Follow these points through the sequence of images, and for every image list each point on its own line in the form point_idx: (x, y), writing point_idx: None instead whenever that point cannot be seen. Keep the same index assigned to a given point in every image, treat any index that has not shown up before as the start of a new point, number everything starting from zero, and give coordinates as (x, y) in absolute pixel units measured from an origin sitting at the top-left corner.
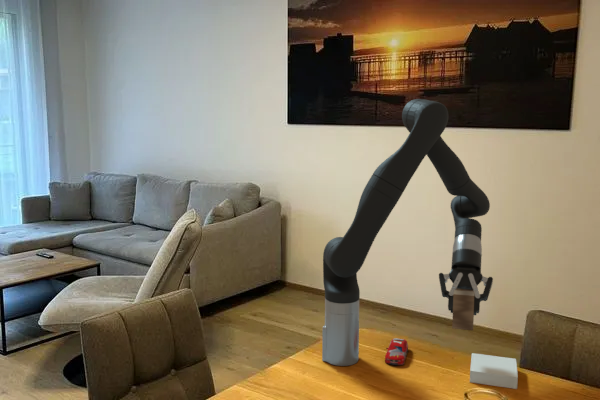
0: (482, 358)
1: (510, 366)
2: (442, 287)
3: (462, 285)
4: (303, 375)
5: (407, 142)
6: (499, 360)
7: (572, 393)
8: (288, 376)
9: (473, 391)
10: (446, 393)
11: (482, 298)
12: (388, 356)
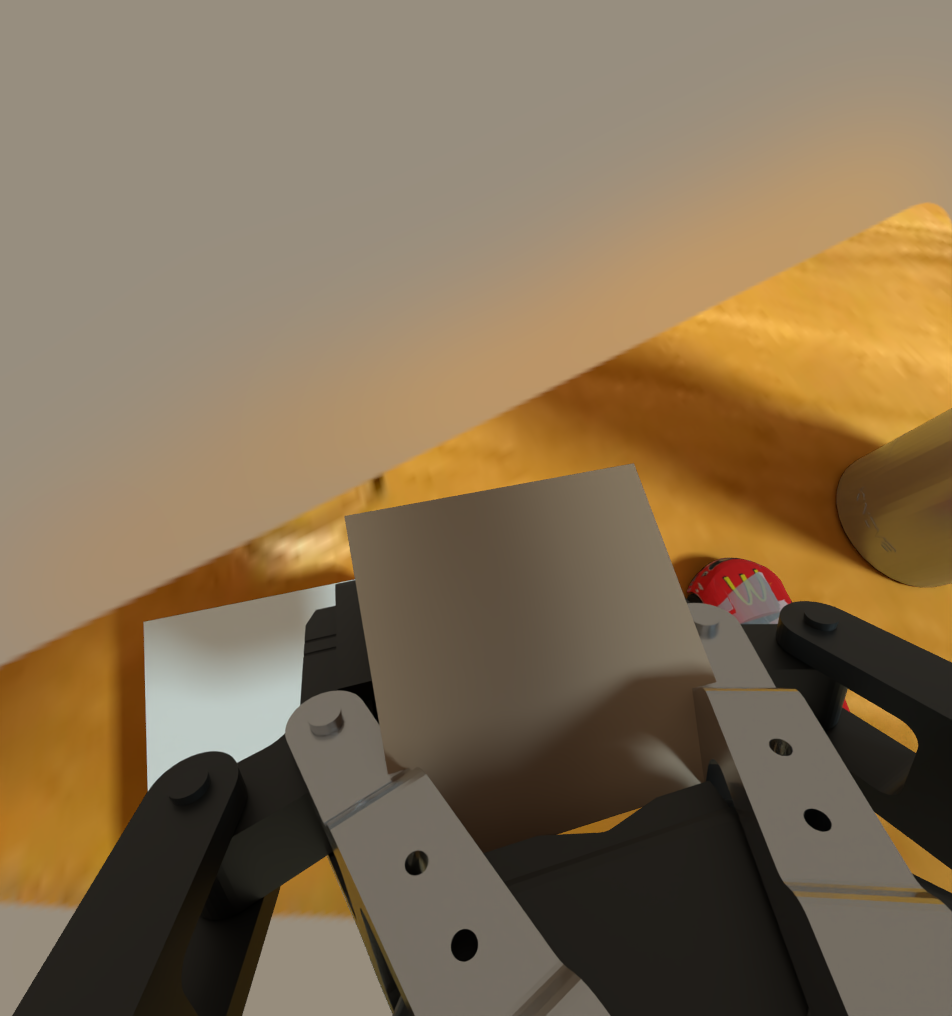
0: None
1: (183, 744)
2: (897, 651)
3: (654, 818)
4: (892, 350)
5: None
6: None
7: None
8: (917, 326)
9: (352, 514)
10: (443, 450)
11: (258, 756)
12: (762, 569)
